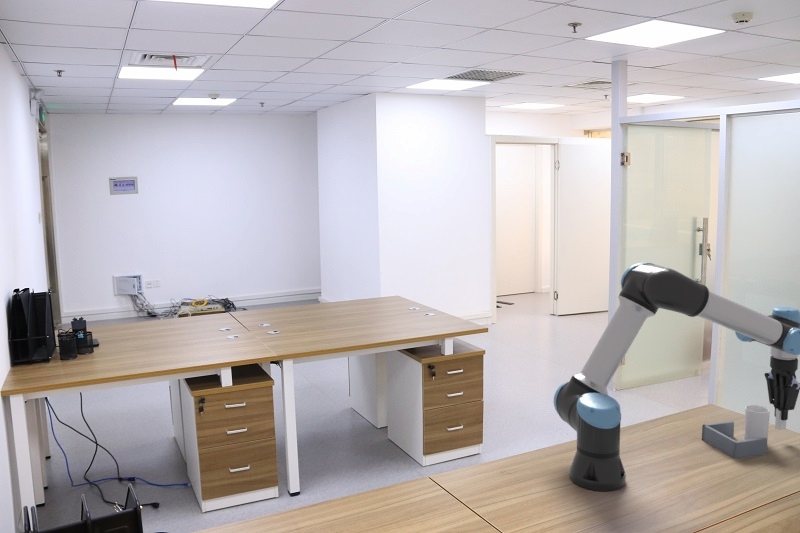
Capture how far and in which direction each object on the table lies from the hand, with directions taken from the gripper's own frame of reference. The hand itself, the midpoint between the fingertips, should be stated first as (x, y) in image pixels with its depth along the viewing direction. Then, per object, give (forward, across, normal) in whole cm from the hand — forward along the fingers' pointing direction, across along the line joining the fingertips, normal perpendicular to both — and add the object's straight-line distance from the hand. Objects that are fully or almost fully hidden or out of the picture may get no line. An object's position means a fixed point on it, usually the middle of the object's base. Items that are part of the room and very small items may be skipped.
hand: (780, 428), depth 210 cm
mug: (+4, 0, +9) cm, 10 cm away
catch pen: (+4, 0, +17) cm, 18 cm away
